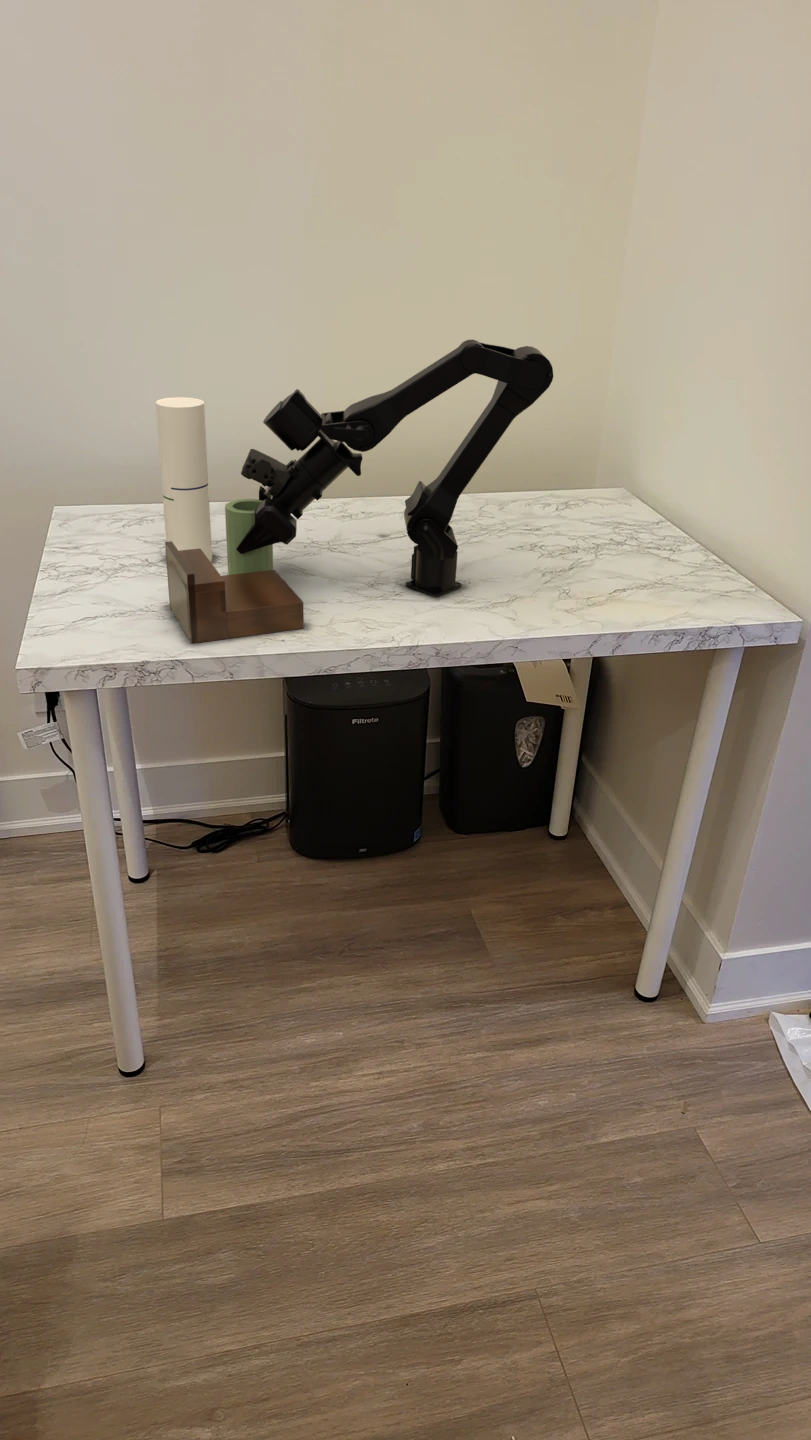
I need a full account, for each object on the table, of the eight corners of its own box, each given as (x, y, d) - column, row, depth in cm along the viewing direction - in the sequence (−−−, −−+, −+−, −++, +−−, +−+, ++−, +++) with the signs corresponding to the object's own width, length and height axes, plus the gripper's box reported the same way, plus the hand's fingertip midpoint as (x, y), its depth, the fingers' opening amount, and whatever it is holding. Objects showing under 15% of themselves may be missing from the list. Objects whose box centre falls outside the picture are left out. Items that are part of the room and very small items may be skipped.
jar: (282, 585, 160) (281, 506, 154) (249, 596, 155) (246, 516, 149) (253, 573, 164) (250, 496, 158) (219, 584, 159) (215, 505, 153)
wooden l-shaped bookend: (275, 594, 156) (273, 530, 151) (303, 628, 146) (303, 561, 141) (169, 607, 150) (164, 541, 146) (191, 643, 140) (186, 574, 135)
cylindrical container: (202, 569, 164) (193, 409, 152) (160, 564, 165) (147, 405, 153) (218, 554, 170) (211, 399, 158) (177, 549, 171) (167, 395, 159)
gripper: (276, 417, 156) (206, 487, 161) (270, 449, 140) (192, 526, 145) (328, 470, 161) (259, 537, 165) (328, 507, 145) (251, 579, 149)
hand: (240, 543), depth 156 cm, fingers closed on jar, 7 cm apart
